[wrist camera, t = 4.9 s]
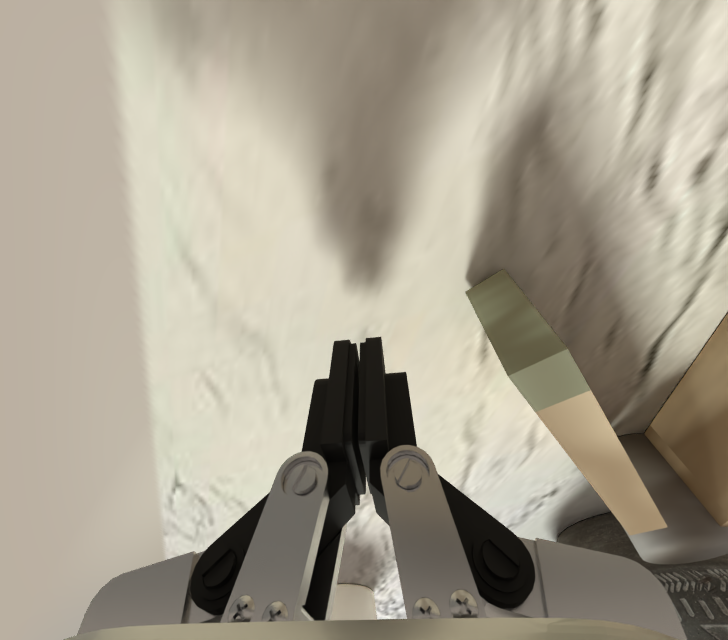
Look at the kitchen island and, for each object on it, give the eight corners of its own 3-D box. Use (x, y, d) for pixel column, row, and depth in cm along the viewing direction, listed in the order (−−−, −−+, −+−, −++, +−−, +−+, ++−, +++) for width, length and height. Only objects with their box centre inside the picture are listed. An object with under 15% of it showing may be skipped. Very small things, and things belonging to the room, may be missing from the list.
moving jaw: (503, 268, 11) (567, 348, 8) (606, 439, 18) (667, 527, 14) (465, 291, 12) (507, 376, 8) (577, 448, 18) (629, 535, 15)
